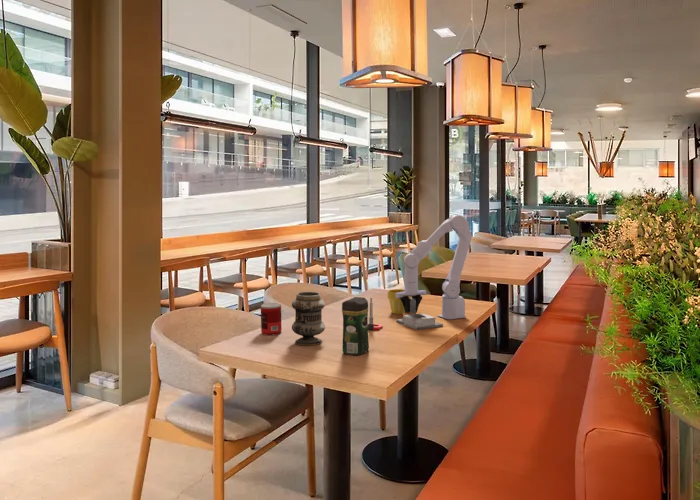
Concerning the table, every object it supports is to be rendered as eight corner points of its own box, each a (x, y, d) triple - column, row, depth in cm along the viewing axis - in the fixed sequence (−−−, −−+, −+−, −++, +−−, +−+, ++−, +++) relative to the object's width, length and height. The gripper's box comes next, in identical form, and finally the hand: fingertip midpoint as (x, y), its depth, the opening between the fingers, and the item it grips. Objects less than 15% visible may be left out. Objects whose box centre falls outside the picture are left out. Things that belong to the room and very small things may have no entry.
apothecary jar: (312, 348, 198) (311, 297, 196) (285, 343, 205) (284, 294, 203) (331, 340, 208) (331, 292, 207) (305, 336, 215) (304, 289, 213)
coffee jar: (351, 347, 200) (350, 294, 198) (371, 349, 197) (371, 296, 195) (338, 354, 191) (338, 299, 189) (360, 357, 188) (359, 301, 186)
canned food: (284, 331, 223) (284, 303, 222) (275, 336, 216) (275, 307, 215) (267, 329, 226) (266, 302, 225) (257, 334, 218) (257, 306, 217)
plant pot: (411, 315, 251) (411, 293, 250) (388, 315, 251) (388, 293, 250) (409, 310, 261) (409, 289, 260) (387, 310, 261) (387, 289, 260)
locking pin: (411, 316, 248) (412, 298, 247) (415, 317, 245) (416, 299, 245) (406, 317, 247) (406, 298, 246) (410, 318, 244) (410, 300, 243)
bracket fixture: (420, 318, 243) (420, 309, 243) (442, 326, 229) (443, 316, 229) (395, 321, 238) (395, 312, 237) (417, 330, 224) (417, 320, 223)
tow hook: (363, 326, 233) (360, 330, 224) (363, 294, 232) (360, 297, 223) (383, 326, 232) (381, 331, 223) (383, 295, 231) (381, 298, 222)
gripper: (419, 279, 251) (419, 309, 253) (391, 281, 245) (391, 312, 246) (429, 281, 245) (429, 312, 246) (400, 284, 238) (400, 315, 240)
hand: (411, 312), depth 246 cm, fingers open, 3 cm apart
